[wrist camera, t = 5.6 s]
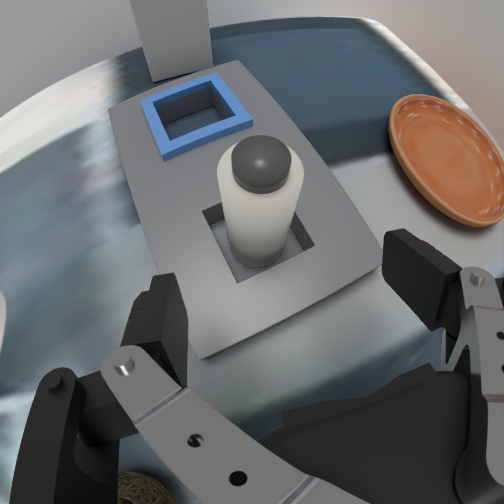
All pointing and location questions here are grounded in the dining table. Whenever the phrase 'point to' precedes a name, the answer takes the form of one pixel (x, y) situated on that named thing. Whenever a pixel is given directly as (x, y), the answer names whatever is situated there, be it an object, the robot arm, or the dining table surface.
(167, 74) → the milk carton
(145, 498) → the cup
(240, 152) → the capped white bottle
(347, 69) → the dining table surface
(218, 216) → the block with square holes
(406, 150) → the saucer
